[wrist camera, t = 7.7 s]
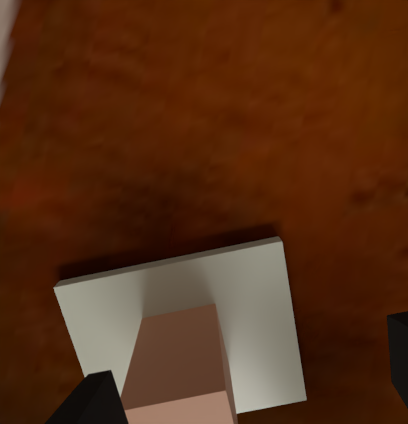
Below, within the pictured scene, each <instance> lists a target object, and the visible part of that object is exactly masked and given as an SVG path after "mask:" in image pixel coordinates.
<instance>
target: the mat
mask: <svg viewBox="0 0 408 424" xmlns="http://www.w3.org/2000/svg"><path fill="white" fill-rule="evenodd" d="M54 291H55V293H56V296H57V299H58V302H59V305H60V308H61V310H62V313H63V316H64V319H65V322H66V325H67V328H68V330H69V333H70V336H71V339H72V342H73V345H74V347H75V350H76V353H77V356H78V359H79V362H80V365H81V367H82V370H83V373H84V376H85V377H86V376H87V375H88V374H91V373H96V372H102V371H107V370H111V371H112V374H113V377H114V380H115V383H116V386H117V389H118V392H119V395H120V397H121V393H122V390H123V386H124V382H125V379H126V375H127V371H128V368H129V364H130V361H131V357H132V353H133V350H134V346H135V342H136V339H137V335H138V331H139V328H140V324H141V320H142V318H146V317H151V316H156V315H161V314H166V313H171V312H176V311H181V310H186V309H191V308H196V307H201V306H205V305H210V304H216V308H217V313H218V317H219V322H220V326H221V331H222V335H223V340H224V344H225V349H226V353H227V358H228V362H229V367H230V374H231V380H232V387H233V394H234V401H235V407H236V414H237V413H242V412H247V411H252V410H258V409H263V408H268V407H273V406H279V405H284V404H289V403H294V402H299V401H305V400H307V399H306V392H305V386H304V379H303V373H302V366H301V360H300V353H299V347H298V340H297V334H296V327H295V321H294V314H293V308H292V301H291V295H290V288H289V282H288V275H287V269H286V262H285V256H284V249H283V243H282V240H281V239H280V238H279V236H277V237H272V238H267V239H262V240H257V241H252V242H247V243H243V244H238V245H233V246H228V247H223V248H218V249H213V250H208V251H203V252H198V253H193V254H189V255H184V256H179V257H174V258H169V259H164V260H159V261H154V262H149V263H144V264H139V265H135V266H130V267H125V268H120V269H115V270H110V271H105V272H100V273H95V274H90V275H85V276H81V277H76V278H71V279H66V280H61V281H59V282H58V283H57V284H56V285H55V287H54Z"/></svg>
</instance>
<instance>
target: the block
mask: <svg viewBox="0 0 408 424" xmlns="http://www.w3.org/2000/svg"><path fill="white" fill-rule="evenodd" d="M120 398H121V401H122V404H123V408H124V411H125V414H126V417H127V420H128V423H129V424H238V421H237V414H236V407H235V401H234V394H233V387H232V380H231V374H230V367H229V362H228V358H227V353H226V349H225V344H224V340H223V335H222V331H221V326H220V322H219V317H218V313H217V308H216V304H210V305H205V306H201V307H196V308H191V309H186V310H181V311H176V312H171V313H166V314H161V315H156V316H151V317H146V318H142V320H141V324H140V328H139V331H138V335H137V339H136V342H135V346H134V350H133V353H132V357H131V361H130V364H129V368H128V371H127V375H126V379H125V382H124V386H123V390H122V393H121V397H120Z"/></svg>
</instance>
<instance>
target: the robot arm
mask: <svg viewBox="0 0 408 424" xmlns="http://www.w3.org/2000/svg"><path fill="white" fill-rule="evenodd" d="M387 325H388V338H389V352H390V365H391V379H392V383H393V385H394V386H395V388H396V390H397V391H398V393H399V395H400V396H401V398H402V400H403V401H404V403H405V405H406V406H407V408H408V311H406V312H401V313H396V314H391V315H387ZM45 424H129V423H128V420H127V417H126V414H125V411H124V408H123V404H122V401H121V398H120V395H119V392H118V389H117V386H116V383H115V380H114V377H113V374H112V371H111V370H107V371H102V372H96V373H91V374H88V375H87V376H86V377H85V378H84V379H83V380H82V381H81V383H80V384H79V385H78V386H77V387H76V388H75V389H74V390H73V392H72V393H71V394H70V395H69V396H68V397H67V398H66V400H65V401H64V402H63V403H62V404H61V405H60V407H59V408H58V409H57V410H56V411H55V412H54V414H53V415H52V416H51V417H50V418H49V419H48V420H47V422H46V423H45Z"/></svg>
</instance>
